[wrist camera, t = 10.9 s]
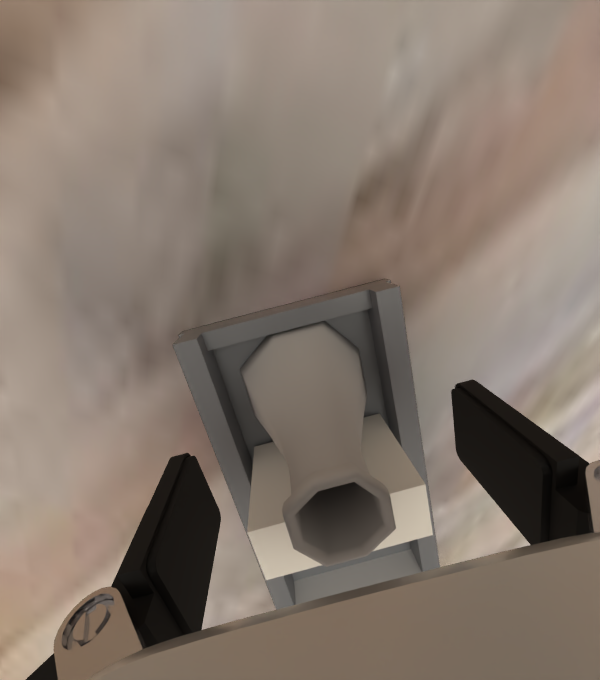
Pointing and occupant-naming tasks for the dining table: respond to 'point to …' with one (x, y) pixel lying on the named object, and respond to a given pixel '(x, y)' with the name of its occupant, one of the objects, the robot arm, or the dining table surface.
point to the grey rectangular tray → (247, 432)
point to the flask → (320, 440)
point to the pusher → (275, 489)
